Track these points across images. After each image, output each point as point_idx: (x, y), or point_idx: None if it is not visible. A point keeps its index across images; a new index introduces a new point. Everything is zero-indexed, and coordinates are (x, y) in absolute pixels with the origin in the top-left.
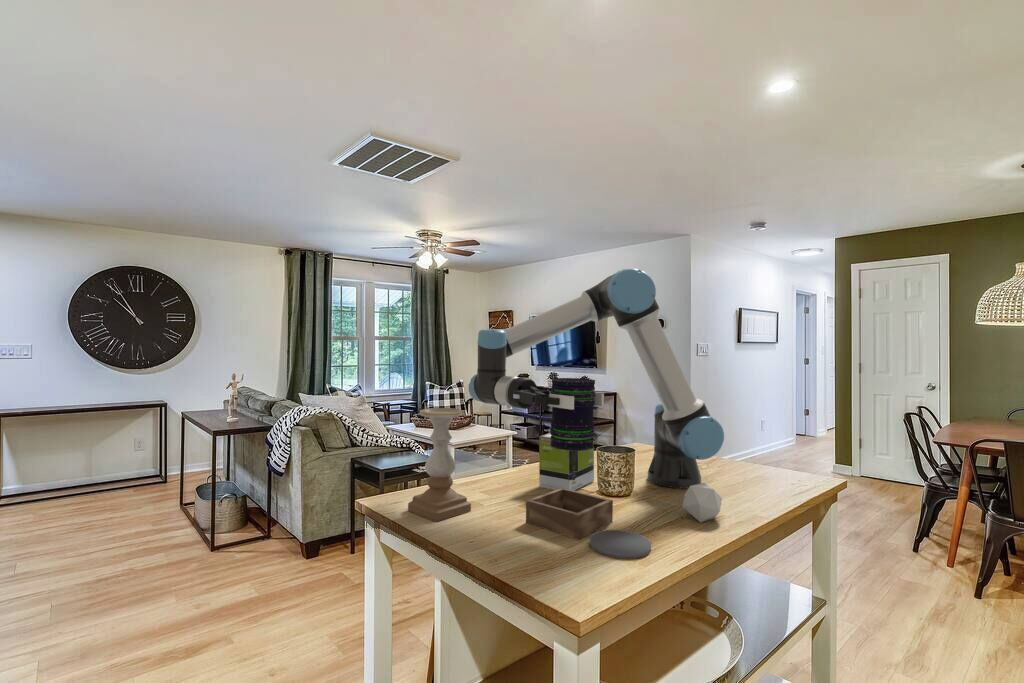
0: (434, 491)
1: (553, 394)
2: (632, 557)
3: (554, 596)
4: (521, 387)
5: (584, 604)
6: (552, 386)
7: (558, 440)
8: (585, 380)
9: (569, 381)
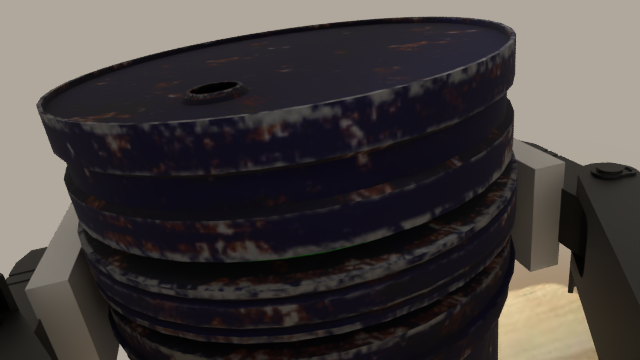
0: None
1: (527, 146)
2: None
3: (588, 329)
4: None
5: (539, 303)
6: (513, 114)
7: None
8: (178, 66)
9: (412, 19)
